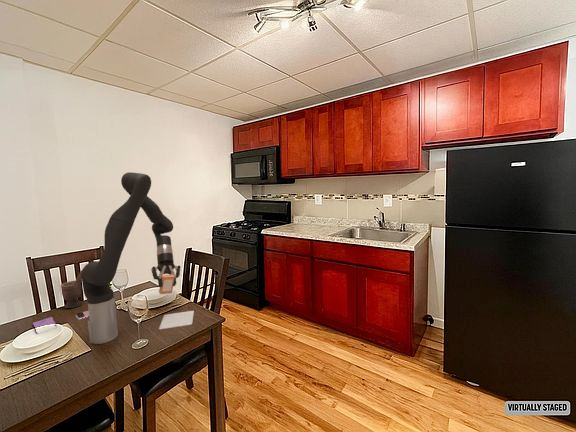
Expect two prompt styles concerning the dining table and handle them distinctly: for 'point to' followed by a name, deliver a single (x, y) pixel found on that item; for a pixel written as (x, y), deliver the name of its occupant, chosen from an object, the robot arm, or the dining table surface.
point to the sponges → (43, 322)
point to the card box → (167, 284)
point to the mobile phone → (82, 314)
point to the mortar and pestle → (72, 292)
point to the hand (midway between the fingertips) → (167, 286)
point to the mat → (177, 320)
